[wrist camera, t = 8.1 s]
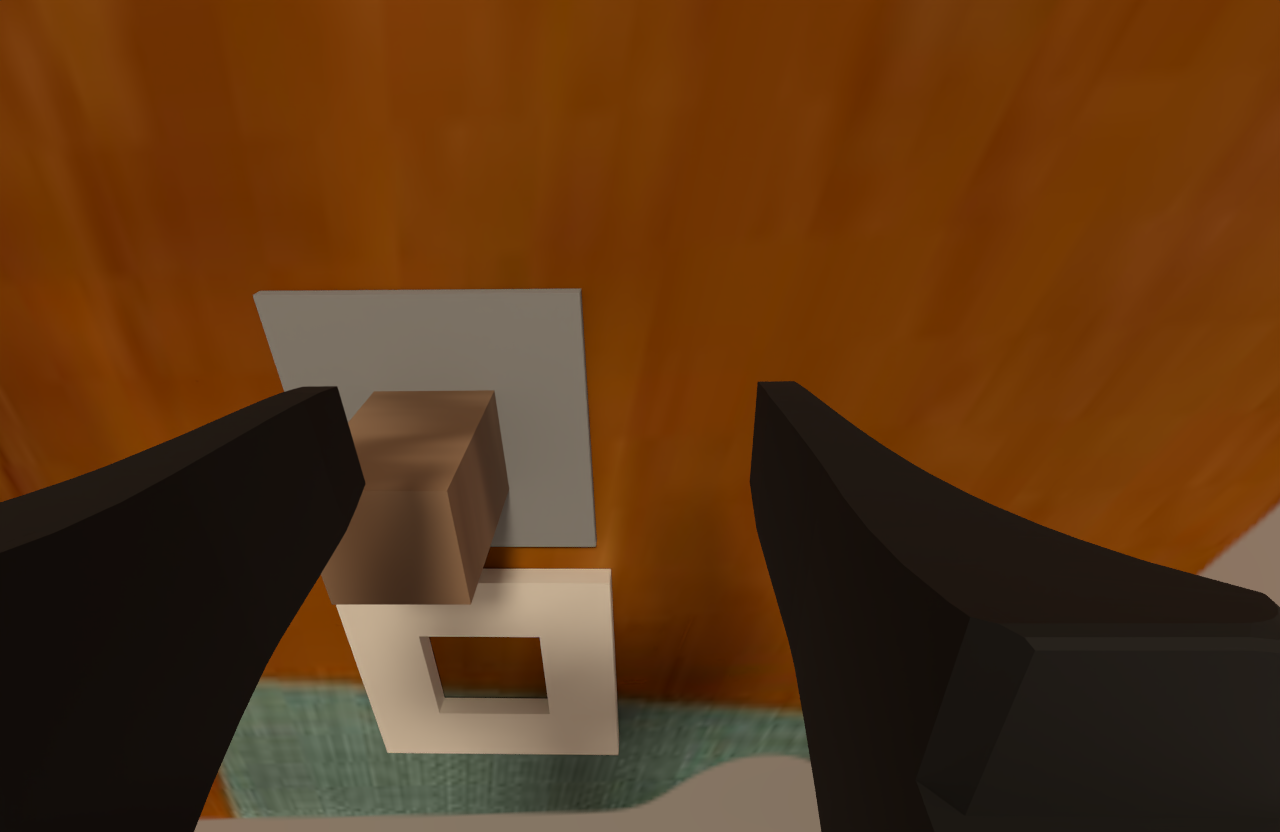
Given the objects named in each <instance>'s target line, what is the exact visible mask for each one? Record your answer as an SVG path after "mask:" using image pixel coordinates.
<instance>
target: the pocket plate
mask: <svg viewBox="0 0 1280 832" xmlns="http://www.w3.org/2000/svg"><path fill="white" fill-rule="evenodd" d="M336 606H337V609H338V612H339V615H340V618H341V621H342V624H343V626H344V629H345V632H346V635H347V638H348V641H349V644H350V646H351V649H352V652H353V655H354V658H355V661H356V663H357V666H358V669H359V672H360V675H361V678H362V681H363V683H364V686H365V689H366V692H367V695H368V698H369V701H370V703H371V706H372V709H373V712H374V715H375V718H376V720H377V723H378V726H379V729H380V732H381V735H382V738H383V740H384V743H385V746H386V749H387V752H388V753H464V754H567V755H618V754H619V724H618V703H617V683H616V662H615V642H614V621H613V601H612V580H611V569H483V570H482V573H481V576H480V579H479V582H478V585H477V588H476V591H475V594H474V597H473V600H472V603H471V605H336ZM429 637H540V644H541V652H542V659H543V667H544V674H545V682H546V689H547V697H548V698H445V697H444V693H443V689H442V686H441V682H440V678H439V674H438V670H437V666H436V662H435V658H434V655H433V651H432V647H431V643H430V639H429Z"/></svg>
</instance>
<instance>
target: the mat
mask: <svg viewBox="0 0 1280 832" xmlns="http://www.w3.org/2000/svg"><path fill="white" fill-rule="evenodd" d="M253 298H254V301H255V304H256V307H257V310H258V313H259V316H260V319H261V322H262V325H263V328H264V331H265V334H266V337H267V340H268V343H269V346H270V349H271V352H272V355H273V358H274V361H275V364H276V367H277V370H278V373H279V376H280V379H281V382H282V386H283V389H284V392H286V391H289V390H292V389H296V388H299V387H308V386H338V390H339V393H340V397H341V400H342V404H343V407H344V411H345V414H346V417H347V421H348V422H349V421H350V420H351V418H352V417H353V416H354V415H355V414H356V412H357V411H358V410H359V409H360V408H361V406H362V405H363V404H364V403H365V402H366V400H367V399H368V398H369V397H370V396H371V394H372V393H373V392H374V391H476V390H494V391H495V397H496V404H497V411H498V417H499V424H500V431H501V437H502V444H503V451H504V457H505V464H506V471H507V477H508V484H509V491H508V494H507V497H506V500H505V503H504V506H503V509H502V512H501V515H500V518H499V522H498V525H497V528H496V531H495V534H494V537H493V540H492V543H491V546H490V547H596V541H597V538H596V522H595V506H594V490H593V474H592V457H591V441H590V425H589V409H588V393H587V376H586V360H585V344H584V328H583V312H582V296H581V289H470V290H331V291H259V292H257V293H256V294H254V295H253Z"/></svg>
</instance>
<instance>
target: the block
mask: <svg viewBox="0 0 1280 832" xmlns="http://www.w3.org/2000/svg"><path fill="white" fill-rule="evenodd" d="M348 424H349V428H350V431H351V435H352V438H353V442H354V445H355V448H356V452H357V455H358V459H359V462H360V466H361V469H362V472H363V476H364V479H365V483H366V484H365V487H364V489H363V492H362V495H361V497H360V500H359V502H358V505H357V508H356V510H355V512H354V515H353V517H352V519H351V522H350V524H349V526H348V528H347V531H346V533H345V534H344V536H343V538H342V540H341V541H340V543H339V545H338V546H337V548H336V550H335V551H334V553H333V555H332V556H331V558H330V560H329V561H328V563H327V565H326V566H325V568H324V570H323V571H322V573H321V576H322V578H323V581H324V584H325V587H326V589H327V592H328V595H329V598H330V600H331V603H332V605H471V603H472V600H473V597H474V594H475V591H476V588H477V585H478V582H479V579H480V576H481V573H482V570H483V567H484V564H485V561H486V558H487V555H488V552H489V549H490V546H491V543H492V540H493V537H494V534H495V531H496V528H497V525H498V522H499V518H500V515H501V512H502V509H503V506H504V503H505V500H506V497H507V494H508V491H509V484H508V477H507V471H506V464H505V457H504V451H503V444H502V437H501V431H500V424H499V417H498V411H497V404H496V397H495V391H494V390H476V391H374V392H373V393H372V394H371V396H370V397H369V398H368V399H367V400H366V402H365V403H364V404H363V405H362V406H361V408H360V409H359V410H358V411H357V412H356V414H355V415H354V416H353V417H352V418H351V420H350V421H349V422H348Z"/></svg>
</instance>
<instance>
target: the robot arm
mask: <svg viewBox="0 0 1280 832" xmlns="http://www.w3.org/2000/svg"><path fill="white" fill-rule="evenodd" d="M365 484H366V483H365V479H364V476H363V472H362V469H361V466H360V462H359V459H358V455H357V452H356V448H355V445H354V442H353V438H352V435H351V431H350V428H349V424H348V421H347V417H346V414H345V411H344V407H343V404H342V400H341V397H340V393H339V390H338V386H308V387H299V388H296V389H292V390H289V391H286V392H283V393H280V394H277V395H275V396H272V397H269V398H267V399H264V400H262V401H259V402H257V403H255V404H252V405H250V406H247V407H245V408H243V409H240V410H238V411H236V412H234V413H231V414H229V415H227V416H224V417H222V418H220V419H218V420H215V421H213V422H211V423H208V424H206V425H204V426H202V427H199V428H197V429H195V430H192V431H190V432H188V433H186V434H183V435H181V436H179V437H176V438H174V439H171V440H169V441H167V442H164V443H162V444H159V445H157V446H154V447H152V448H149V449H147V450H145V451H142V452H140V453H137V454H135V455H132V456H130V457H128V458H125V459H123V460H120V461H118V462H115V463H113V464H110V465H108V466H105V467H103V468H100V469H97V470H95V471H92V472H89V473H87V474H84V475H81V476H78V477H76V478H73V479H70V480H67V481H64V482H61V483H58V484H55V485H52V486H49V487H46V488H43V489H40V490H38V491H35V492H32V493H29V494H26V495H23V496H19V497H16V498H13V499H10V500H7V501H4V502H0V832H194V830H195V827H196V825H197V822H198V820H199V817H200V815H201V812H202V810H203V807H204V805H205V802H206V799H207V797H208V794H209V792H210V789H211V787H212V784H213V782H214V779H215V777H216V775H217V773H218V770H219V768H220V766H221V763H222V761H223V759H224V756H225V754H226V752H227V749H228V747H229V745H230V743H231V740H232V738H233V736H234V733H235V731H236V729H237V726H238V724H239V722H240V720H241V717H242V715H243V713H244V711H245V709H246V707H247V705H248V703H249V701H250V698H251V696H252V694H253V692H254V690H255V688H256V686H257V684H258V682H259V679H260V677H261V675H262V673H263V671H264V669H265V667H266V665H267V663H268V661H269V659H270V658H271V656H272V654H273V652H274V650H275V649H276V647H277V645H278V643H279V641H280V640H281V638H282V636H283V635H284V633H285V631H286V630H287V628H288V626H289V625H290V623H291V622H292V620H293V618H294V617H295V615H296V613H297V612H298V610H299V609H300V607H301V605H302V604H303V602H304V600H305V599H306V597H307V596H308V594H309V592H310V591H311V589H312V588H313V586H314V584H315V583H316V581H317V579H318V578H319V576H320V575H321V573H322V571H323V570H324V568H325V566H326V565H327V563H328V561H329V560H330V558H331V556H332V555H333V553H334V551H335V550H336V548H337V546H338V545H339V543H340V541H341V540H342V538H343V536H344V534H345V533H346V531H347V528H348V526H349V524H350V522H351V519H352V517H353V515H354V512H355V510H356V508H357V505H358V502H359V500H360V497H361V495H362V492H363V489H364V487H365ZM750 486H751V493H752V501H753V508H754V515H755V521H756V528H757V532H758V536H759V539H760V543H761V547H762V550H763V554H764V557H765V561H766V564H767V568H768V571H769V575H770V578H771V582H772V585H773V589H774V592H775V595H776V599H777V602H778V606H779V609H780V613H781V616H782V620H783V623H784V627H785V630H786V633H787V637H788V641H789V645H790V649H791V653H792V657H793V662H794V666H795V672H796V677H797V683H798V689H799V694H800V700H801V706H802V711H803V717H804V723H805V729H806V735H807V741H808V748H809V754H810V760H811V766H812V772H813V778H814V785H815V791H816V798H817V804H818V811H819V818H820V825H821V832H1280V607H1279V606H1278V605H1277V604H1275V602H1274V601H1272V600H1271V599H1270V598H1269V597H1268V596H1267V595H1265V594H1263V593H1261V592H1257V591H1253V590H1250V589H1246V588H1242V587H1239V586H1235V585H1231V584H1228V583H1223V582H1220V581H1216V580H1212V579H1209V578H1205V577H1202V576H1198V575H1194V574H1191V573H1187V572H1183V571H1180V570H1176V569H1172V568H1169V567H1165V566H1161V565H1158V564H1154V563H1150V562H1147V561H1144V560H1140V559H1137V558H1134V557H1131V556H1128V555H1125V554H1122V553H1119V552H1116V551H1113V550H1110V549H1107V548H1104V547H1101V546H1098V545H1095V544H1092V543H1089V542H1086V541H1083V540H1080V539H1077V538H1074V537H1071V536H1069V535H1066V534H1063V533H1061V532H1058V531H1055V530H1052V529H1050V528H1047V527H1044V526H1042V525H1039V524H1037V523H1034V522H1032V521H1030V520H1027V519H1025V518H1022V517H1020V516H1018V515H1015V514H1013V513H1010V512H1008V511H1006V510H1003V509H1001V508H999V507H996V506H994V505H992V504H989V503H987V502H985V501H983V500H981V499H979V498H976V497H974V496H972V495H970V494H968V493H966V492H964V491H962V490H960V489H958V488H956V487H954V486H952V485H951V484H949V483H947V482H945V481H943V480H941V479H939V478H937V477H935V476H933V475H931V474H929V473H928V472H926V471H924V470H922V469H921V468H919V467H917V466H915V465H914V464H912V463H910V462H909V461H907V460H906V459H904V458H902V457H901V456H899V455H898V454H896V453H894V452H893V451H891V450H890V449H888V448H886V447H885V446H883V445H882V444H880V443H879V442H877V441H876V440H874V439H873V438H871V437H870V436H868V435H867V434H866V433H864V432H863V431H861V430H860V429H858V428H857V427H856V426H854V425H853V424H852V423H850V422H849V421H847V420H846V419H845V418H843V417H842V416H841V415H839V414H838V413H837V412H835V411H834V410H833V409H831V408H830V407H829V406H828V405H826V404H825V403H824V402H822V401H821V400H820V399H818V398H817V397H816V396H814V395H813V394H812V393H810V392H809V391H808V390H806V389H805V388H804V387H802V386H801V385H799V384H798V383H796V382H794V381H784V382H758V386H757V398H756V411H755V423H754V436H753V448H752V461H751V473H750Z"/></svg>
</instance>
